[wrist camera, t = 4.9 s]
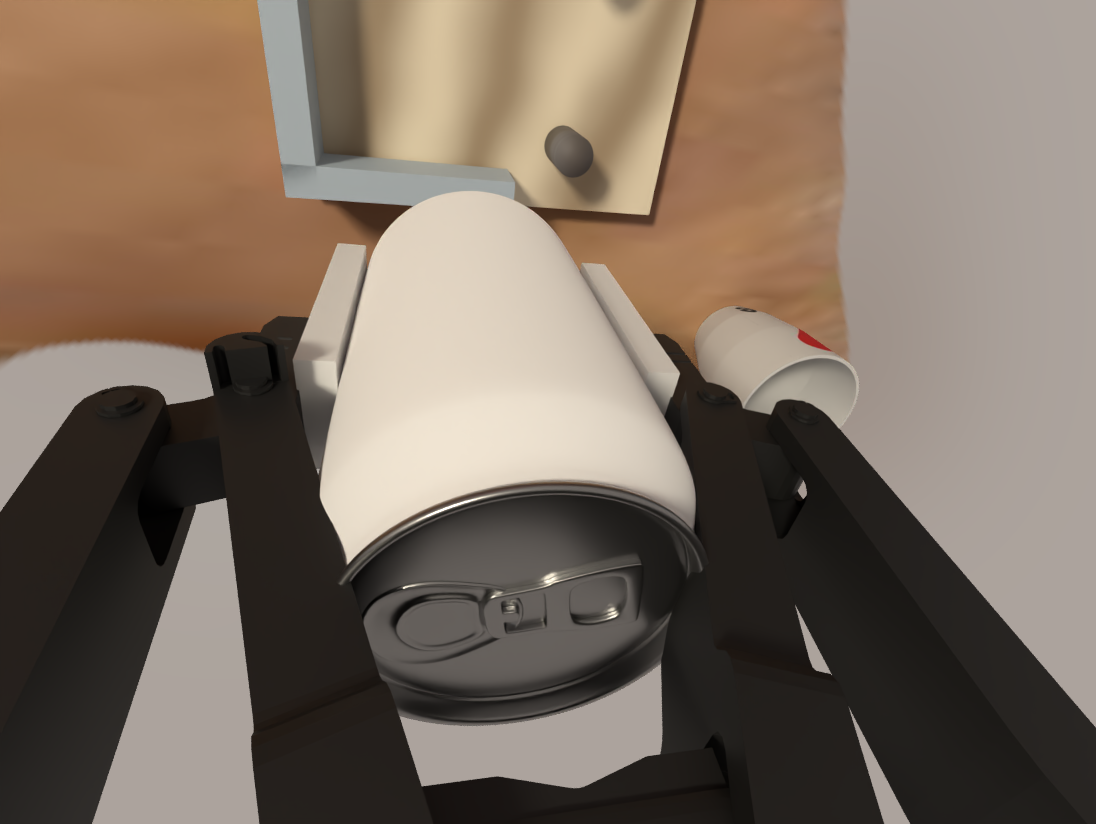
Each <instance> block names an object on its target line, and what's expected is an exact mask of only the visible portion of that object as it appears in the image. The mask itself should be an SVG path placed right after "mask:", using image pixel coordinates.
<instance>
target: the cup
mask: <svg viewBox="0 0 1096 824" xmlns="http://www.w3.org/2000/svg"><path fill="white" fill-rule="evenodd" d="M694 345H695V351H696V357H697V362H698V367H699V371H700V374H701V375H702V377H703V378H704V379H705V381H706V382H711V383H715V384H718V385H721V386H723V387H725V388H727V389H729V390H731V391H732V392H733V393H735V394H736V395H737V396H738V397H739V399H740V401H741V403H742V406H743V408H744V409H747V410H752V411H756V412H761V413H766V414H770V415H771V413H772V411H773V409H774V406H775V404H776V402H778V401H780V400H783V399H793V400H798V401H799V400H801V401H805V402H806V403H807V402H808V403H810V404H813V405H814V406H815V407H817V408H818V409H820V410H822V411H823V412H824V413H825V414H826V415H828V416H829V417H830V418H831V420H832V421H833V422H834V423H835V424H836V425H837V427H838V428H840V427H841V426H842V425H843V424H844V423H845V421H846V420H847V419H848V417H849V415H850V414H851V412H852V410H853V408H854V406H855V404H856V401H857V398H858V393H859V379H858V375H857V373H856V371H855V369H854V368H853V367H852V365H851V364H849V363H848V362H847V361H845V360H844V359H843V358H841V357H840V356H838V355H837V354H835V353H834V352H832V351H831V350H830V349H828V348H827V347H825V346H824V345H822V344H821V343H820V342H818V341H817V340H815V339H814V338H812V337H811V336H809V335H808V334H807V333H805V332H804V331H802V330H800V329H798V328H796V327H794V326H792V325H790V324H788V323H786V322H784V321H782V320H780V319H778V318H776V317H774V316H772V315H770V314H767V313H764V312H760V311H756V310H753V309H749V308H745V307H741V306H729V307H725V308H722V309H720V310H718V311H716V312H714V313H713V314H711V315H710V316H709V317H708V318H707V319H706V320H705V321H704V322H703V323H702V324H701V326H700V327H699V329H698V331H697V334H696V337H695V343H694Z"/></svg>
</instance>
